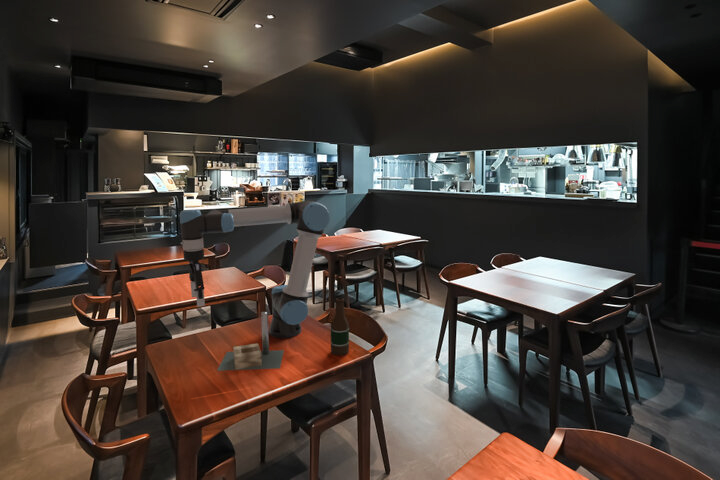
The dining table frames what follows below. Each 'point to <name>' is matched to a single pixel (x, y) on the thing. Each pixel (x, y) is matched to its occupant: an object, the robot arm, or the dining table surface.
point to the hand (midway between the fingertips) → (198, 301)
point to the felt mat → (268, 362)
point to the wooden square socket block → (247, 356)
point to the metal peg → (265, 333)
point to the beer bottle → (339, 330)
